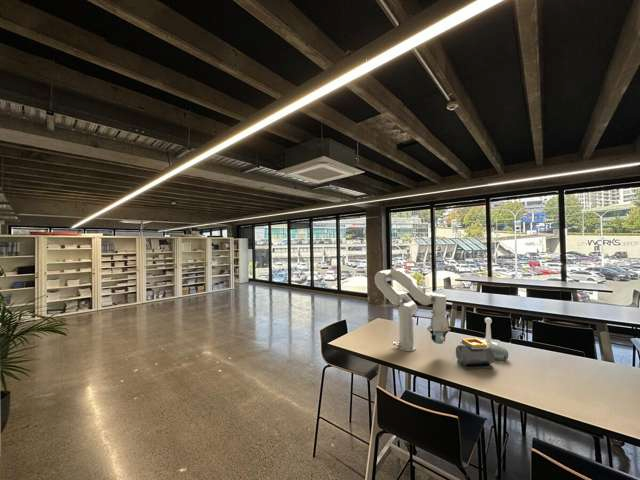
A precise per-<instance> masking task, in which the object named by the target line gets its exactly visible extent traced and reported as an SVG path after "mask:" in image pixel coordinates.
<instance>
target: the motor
mask: <svg viewBox="0 0 640 480" xmlns="http://www.w3.org/2000/svg"><path fill="white" fill-rule="evenodd" d="M480 340H481V339H479V338H476V337H475V338H462V339H461V340H460V341H459V342H460V344H461V345H457V346H456V347H455V355H456V363H457V364H459V365H460V366H461V367H462V368H465V370H467V371H469V370H470V371H471V370H489V369H491V370H493V369H494V366H493V365H492V364H493V363H494V361H495V359H494V353H493V351H492V349H491V348H490V347H489V346H488V345H487V344H486V343H484V342H482V341H480Z"/></svg>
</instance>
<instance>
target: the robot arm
mask: <svg viewBox="0 0 640 480" xmlns="http://www.w3.org/2000/svg"><path fill="white" fill-rule="evenodd" d="M407 271H408V270H406V269H404V268H402V267H400V268H393V269H384V270H379V271H377V272H376V274H375V275H374V283H375V286H376V288H377V289H378V290H379V291H381V293H382V294H383V295H384V296H385V298H386V299H387V300H388V301H389V302H390V303H391V304H392V305H394V306H399V307H398V308H397V313H398V320H399V321H398V322H399V323H398V326H399V331H398V332H399V333H398V335H399V339H398V341H396V342H395V341H394V342H392V345H393V346H396V347H397V348H398V349H399V350H400V351H404V352H413V351H416V350H417V347H416V345H414V341H415V340H414V318H413V315H415V314H417V312H418V305H417V304H416V302H414V300H415V301H417V302H418V303H419V304H421V305H422V306H428V305H430V304H432V309H433V310H432V311H430V312H431V318H430V325H429V326H428V327H427V328H426V329H427V331H428V332H429V333H430V334H431V336H430V337H431V341H435V332H444V336H443V337H444V338H445V339H444V340H443V342H446V336H447V334H448V333H449V332H450V331H451V328H450V326H449V324H448V323H449V322H448V317H447V314H446V313H447V311H446V310H447V297H446V295H444V294H441V293H436V292H435V293H434V292H431V291H427V292H424V291H423V290H422V289H420V288H419V287H418V286H417V284H416V281H415V279H413V278H412V277H411V276H409V275H408V272H407ZM390 281H396V283H398V284H399V285H401V287H402V288H404V289H405V290H406V291H407V292H408V293H409V295H410V296H411V297H410V296H409V295H408V294H407V293H406V292H405V291H403V290H396V289H395V288H394V287H393V286H392V285H391V284H390V283H389V282H390ZM412 298H413V299H414V300H413V299H412Z"/></svg>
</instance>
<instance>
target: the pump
mask: <svg viewBox="0 0 640 480" xmlns="http://www.w3.org/2000/svg"><path fill="white" fill-rule="evenodd" d="M443 336H444V332H435V341H433V340H432V341H433V343H435V344H439V345H442V344H444V341H443V340H444V339H445V340H446V337H445V338H444V337H443Z"/></svg>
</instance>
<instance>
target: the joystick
mask: <svg viewBox="0 0 640 480" xmlns="http://www.w3.org/2000/svg"><path fill="white" fill-rule="evenodd" d="M492 322H493V320H492V318H491V317H485V318H484V323H486V324H485V325H486V328H485V339H479V340H480V341H482V342H484V343H486V344H487V345H496V346H499V344H498V342H494V341H492V329H491V324H492Z"/></svg>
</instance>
